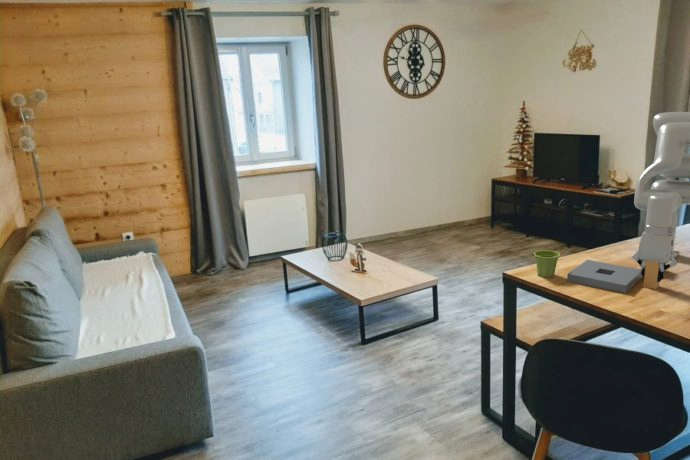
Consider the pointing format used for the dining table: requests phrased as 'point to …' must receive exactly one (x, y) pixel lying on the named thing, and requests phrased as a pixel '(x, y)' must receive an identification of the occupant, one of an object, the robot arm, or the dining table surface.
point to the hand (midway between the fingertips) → (652, 279)
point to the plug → (651, 275)
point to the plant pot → (546, 262)
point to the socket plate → (605, 276)
